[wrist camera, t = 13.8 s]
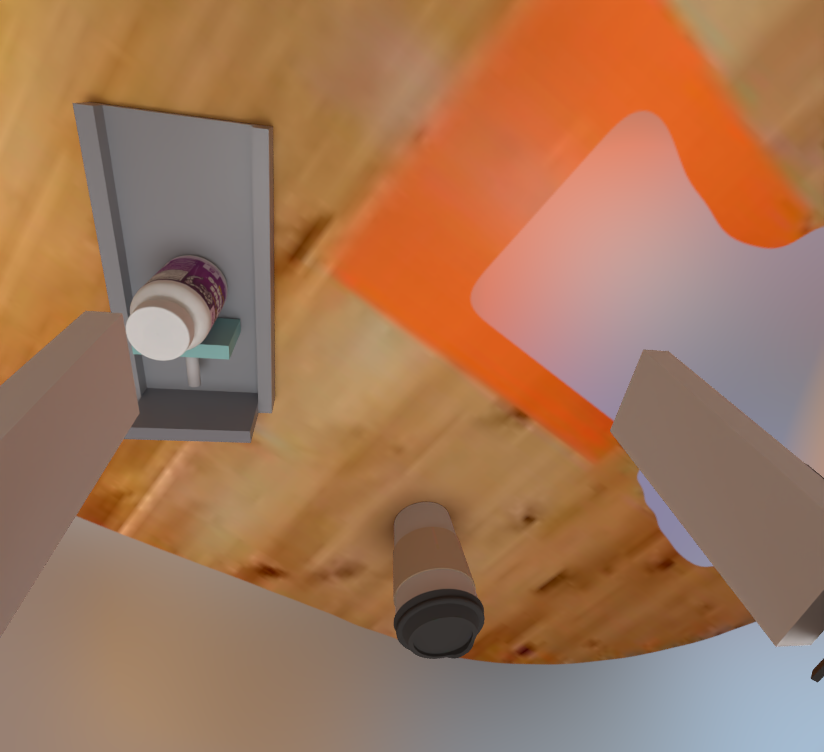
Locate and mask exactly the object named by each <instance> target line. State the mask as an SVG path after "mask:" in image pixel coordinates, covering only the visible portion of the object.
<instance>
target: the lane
mask: <svg viewBox="0 0 824 752" xmlns="http://www.w3.org/2000/svg"><path fill="white" fill-rule="evenodd" d="M73 108H74V113H75V119H76V124H77V130H78V135H79V141H80V146H81V152H82V157H83V162H84V168H85V173H86V179H87V184H88V190H89V195H90V200H91V206H92V211H93V217H94V222H95V228H96V233H97V239H98V244H99V249H100V255H101V260H102V266H103V271H104V277H105V282H106V287H107V293H108V298H109V304H110V309H111V313H122V314H123V319H124V325H125V331H126V322H127V320H128V318H129V316H130V305H131V302H132V299H133V297H134V296H135V294H136V293H137V291H138V290H139V289H140V288H141V287H143V286H144V285H145V284H146V283H147V282H148V281H149V280H150V279H151V278H152V277H153V276H154V275H155V274H156V273H157V272H158V271H159V270H160V269H161V268H162V267H163V266H164V265H165V264H166V263H168V262H169V261H170V260H172V259H174V258H176V257H179V256H184V255H192V256H198V257H201V258H204V259H206V260H208V261H210V262H211V263H213V264H214V265H215V266H216V267H217V268H218V269H219V270H220V271H221V272H222V274H223V275H224V277H225V279H226V282H227V287H228V295H227V299H226V302H225V304H224V306H223V308H222V310H221V311H220V314H219V315H218V317H217V318H226V319H240V327H241V333H240V335H239V338H238V340H237V342H236V345H235V347H234V350H233V352H232V354H231V357H230V359H229V360H228V359H210V358H199V367H200V377H201V385H200V386H198V387H190V386H189V385H188V377H187V367H186V358H185V357H178V358H175V359H173V360H167V361H160V360H154V359H151V358H148V357H146V356H144V355H140V354H133V351H132V345H131V344H130V342H129V340H128V338H127V343H128V348H129V354H130V360H131V366H132V372H133V378H134V383H135V389H136V395H137V401H138V407H139V412H140V413H139V415H138V416H137V418H136V420H135V421H134V423H133V424H132V426H131V428H130V429H129V431H128V432H127V434H126V436H125V437H124V439H143V440H177V441H211V442H244V443H251V440H252V436H253V432H254V428H255V424H256V420H257V416H258V413H272V410H273V405H274V401H275V336H274V188H273V127H271V126H263V125H256V124H249V123H241V122H234V121H226V120H219V119H212V118H204V117H197V116H189V115H182V114H175V113H167V112H160V111H153V110H145V109H138V108H130V107H123V106H116V105H108V104H101V103H93V102H82V103H73ZM126 337H127V335H126Z"/></svg>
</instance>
